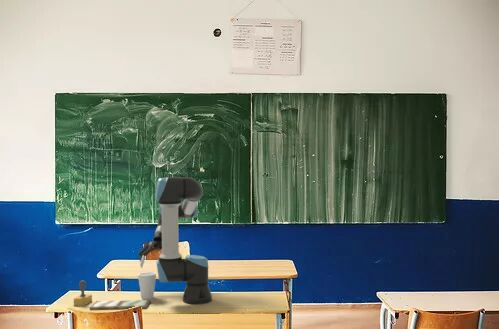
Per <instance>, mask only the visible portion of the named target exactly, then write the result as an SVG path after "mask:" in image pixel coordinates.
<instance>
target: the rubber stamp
mask: <svg viewBox="0 0 499 329" xmlns="http://www.w3.org/2000/svg"><path fill="white" fill-rule="evenodd" d="M86 286H87V282H86V281H85V280H80V281H79V283H78V287H79V289H80V292H81V293H80V294H79V295H78V296H76V297H74V298H73V307H74V306H78V307H85V306H87V305H88V304H89V303H91V302H93V294H92V293H85V289H86Z"/></svg>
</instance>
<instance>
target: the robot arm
mask: <svg viewBox="0 0 499 329" xmlns="http://www.w3.org/2000/svg"><path fill="white" fill-rule="evenodd" d="M155 188H156V189H155V201H157V202H158V205H159V210H158V220H157V226H156V229H155V231H154V236H153V240H152V241H149V240H148V241H146V244H145V245H144V246H142V248H141V249H140V250H139V252H138V253H137V254H138V256H139V257H140V258H139V267H140V268H142V269H143V267H144V264H145V259H146V256H148V254H150V253H151V252H153V251H154V250H155V251H156V250H161V254H160V255H159V256H158V259H156V261H155V262H156V269H157V270H156V271H157V275H158V276H157V277H158V280H159V282H160V283H169V284H170V283H177V282H178V283H179V282H185V288H184V293H183V294H182V302H184V303H185V304H193V305H199V304H200V305H201V304H206V303H207V304H208V303H210V302H212V301H213V294H212V292H211V289H210V286H209V260H208V258H207V257H205V256H203V255H196V254H187V255H185V258H183V255H182V254H181V253H180V250H179V248H180V247H179V246H180V245H179V244H180V242H179V238H180V237H179V219H192V218H197V217H198V214H199V213H198V212H199V210H198V206H197V205H198V203H199V201H200V200H201V198H203V197H202V196H203V194H204V190H203V186H202V184H201V183H200V182H199V181H197V180H196V179H195V178H192V177H188V176H185V177H181V176H180V177H168V176H167V177H160V178H158V180H157V182H156V187H155ZM182 201H183V202H182Z"/></svg>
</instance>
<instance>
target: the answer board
mask: <svg viewBox="0 0 499 329" xmlns="http://www.w3.org/2000/svg"><path fill="white" fill-rule="evenodd" d="M151 301H152V299H148V300H144V299H138V300H137V299H136V300H134V299H133V300H132V299H131V300H130V299H129V300H128V299H127V300H96V301H94V303H93V304H92V305H91V306H90V307H89V311H92V310H93V311H94V310H95V311H96V310H97V311H99V310H105V311H106V310H107V311H108V310H129V309H128V308H132V307H135V306H141V307H142V309H141V310H147V309H148V307H149V305H150V304H151Z"/></svg>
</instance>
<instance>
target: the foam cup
mask: <svg viewBox="0 0 499 329" xmlns="http://www.w3.org/2000/svg"><path fill="white" fill-rule="evenodd" d="M137 279H138V285H139V291H140V298H141V300H152V299H154V296H155V295H154V294H155V287H156V279H157V273H156V272H155V271H154V272H153V271H145V272H139V273H138V274H137Z"/></svg>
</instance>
